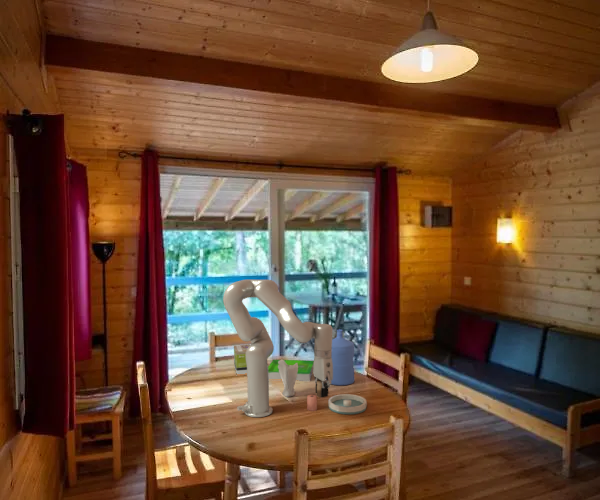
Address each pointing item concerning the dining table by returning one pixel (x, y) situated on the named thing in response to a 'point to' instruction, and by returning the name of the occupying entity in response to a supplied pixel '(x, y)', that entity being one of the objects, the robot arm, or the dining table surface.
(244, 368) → the tea box
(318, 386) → the walnut bead
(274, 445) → the dining table surface
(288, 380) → the shell sculpture
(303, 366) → the tray
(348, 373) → the water jug
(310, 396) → the coral bead
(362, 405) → the groove dish
